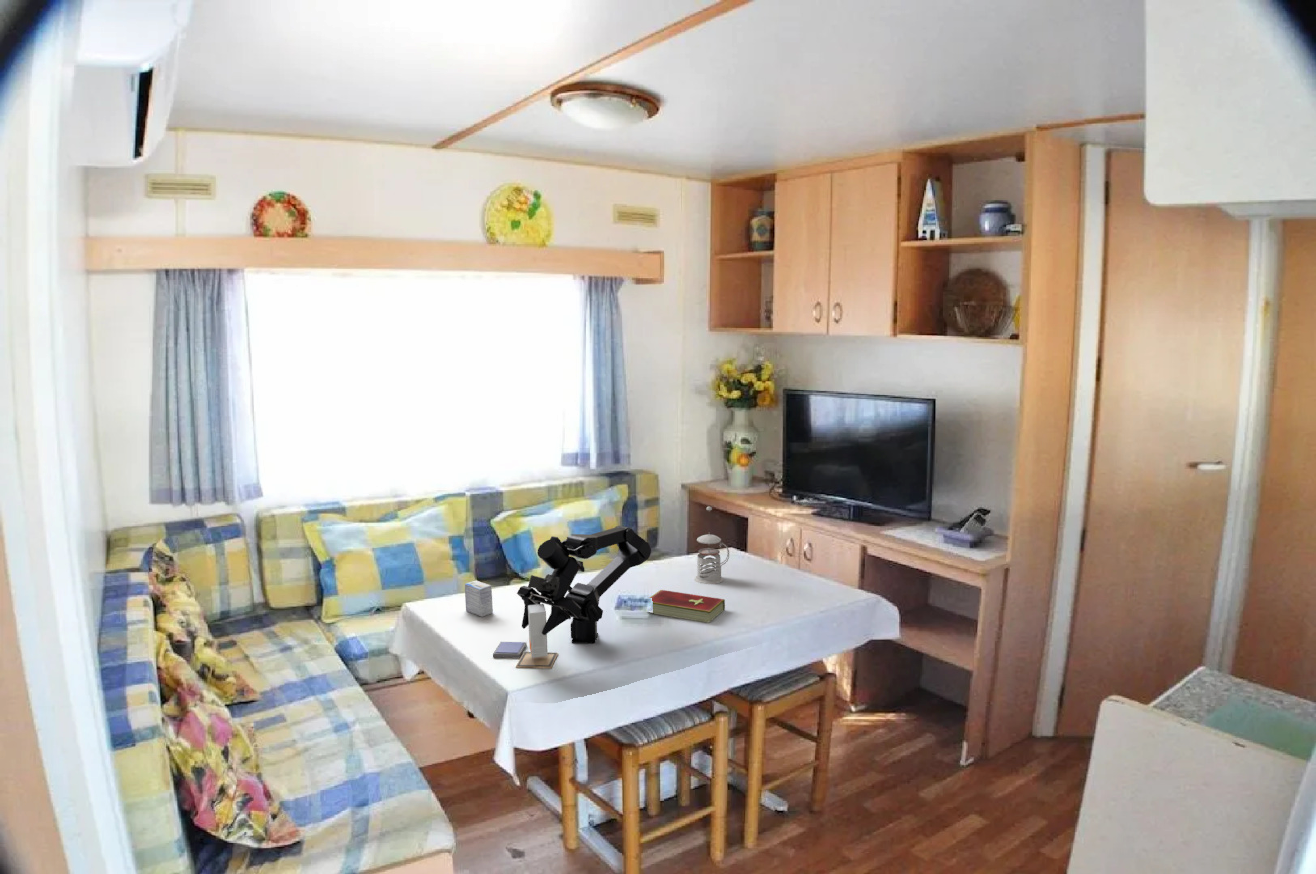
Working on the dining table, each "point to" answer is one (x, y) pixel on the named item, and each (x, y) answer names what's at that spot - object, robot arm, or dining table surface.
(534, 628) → the skincare box
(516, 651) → the ink pad
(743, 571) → the dining table surface
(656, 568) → the dining table surface
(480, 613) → the medicine box
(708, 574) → the french press
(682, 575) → the dining table surface
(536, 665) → the marked board
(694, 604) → the hardcover book
